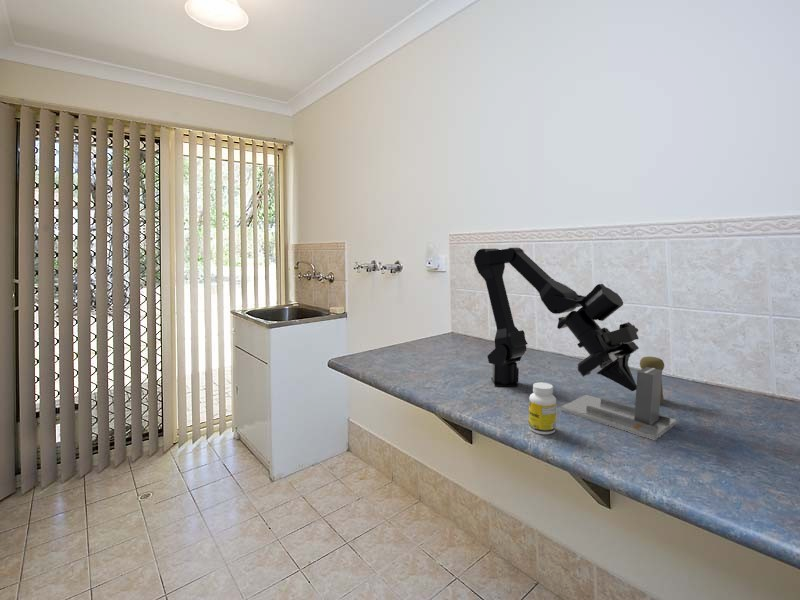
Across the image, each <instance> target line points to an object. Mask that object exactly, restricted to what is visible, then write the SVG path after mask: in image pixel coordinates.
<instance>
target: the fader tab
mask: <svg viewBox="0 0 800 600" xmlns="http://www.w3.org/2000/svg"><path fill="white" fill-rule="evenodd" d="M661 381H662V382H663V370H659V369H655V368H649V367H646V368H644V369H639V370H638V371H637V372H636V385H637V386H636V390H635V405H634V407H635V417H634V419H635V420H639V421H642V422H645V423H649V424H653V423H654V422H656V421H657V420H659V414H660V406H661V404H660V395H661Z"/></svg>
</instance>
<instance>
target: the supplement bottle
mask: <svg viewBox="0 0 800 600" xmlns="http://www.w3.org/2000/svg"><path fill="white" fill-rule="evenodd" d="M528 403H529V404H528V405H529V406H528V427H529V430H530V431H531V432H533V433H536V434H537V435H538V434H539V435H551V434H553V433H555V432H556V425H557V424H556V422H557V421H556V419H557V418H556V417H557V398H556V397H555V395H554V386H553V385H552V384H551V383H547V382H542V381H541V382H534V383H533V385H532V393H530V395H529V400H528Z"/></svg>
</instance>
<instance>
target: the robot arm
mask: <svg viewBox="0 0 800 600" xmlns="http://www.w3.org/2000/svg"><path fill="white" fill-rule="evenodd" d="M473 261H474V264H475V265H474V266H475V267H476V270H477V272H478V274H479V275H480V276H481V277H482V278H483V280H484V281H485V285H486V288H487V293H488V298H489V301H490V302H489V303H490V305H491V311H492V315H493V319H494V323H495V326H496V331H495V337H494V349H493V350H492V351H491V352H490V353H489V354H488V355H487V361H488V363H489V364H491V365H492V376H491V378H490V380H491V382H492V384H493V385H494V386H495V387H519V386H518V385H519V384H518V383H519V375H520V374H519V367H518V364H517V362H520V361H522V357H523V356H524V355H525V353H526V351H527V345H528V341H527V340H526V336H525V335H526V334H525V332H524V330H519V329H518V328H517V326H516V325H515V322H514V318H513V315H512V310H511V306H510V302H509V299H508V297H509V296H508V293H507V290H506V286H505V282H504V277H503V276H504V272H505V268H506V264H510V266H512V267H513V268H514V269H515V270H516V271H517V272H518V273H519V274H520V275H521V276H522V277H523V278H524V279H525V280H526V281H527V282H528V283H529V284H530V285H531V286H532V287H533V288H534V289H535V290H536V291H537V293H538V294H539V297H540V300H541V302H542V303H543V305H544V306H545V307H546V308H547V310H548V311H549V312H550V313H552V314H555V315H556V314H557V315H558V314H564V313H568V314H567V315H565V316H561V317H558V318H557V319H558V323H557V326H556V327H557V329H558V330H560V329H565V328H568V329H569V331H570V333H572V335H573V337H575V338H576V339H577V341H578V342H579V343H577V344H576V345H577V346H578V348H580V349H581V348H584V350H585V351H586V352H587V353H588V354H589V355H588V356H587V357H586V358H584V359H583V360H582V361H580V362H579V363H577V371H578V372H579V374H580V375H581V376H582V377H583V378H584V377H586V376H588V375H590V374H591V372H592V371H593V370H595V369H596V368H598V367H599V368H600V370H598V371H597V372H596V373H597V375H601V376H603V377H605V378H606V379H609V380H611V381H613V382H615V383H616V384H619V385H620V386H622V387H623V388H626V389H628V390H629V391H631V392H636V386H637V382H636V381H635V379H634V376H633V375H632V372H631V370H630V367H629V359H630V357H631V355H632V354H633V353H634V352H636V351H637V350H639V349H640V348H639V346H638V345H637V344H636V343H635V341H636V340H639V336H638V332H639V329H638V328H637V327H636V326H635V324H632V323H630V322H629V321H628V322H625V323H621V324H620V325H619V329H616V330H612V331H610V329H608V328H607V327H602V328H601V327H600V325H599V324H598V323H597V322H596V321H599V322H603V321H605V320H606V319H607V318H609V317H610V316H611V315H612V314H614V313H615V312H616V311H618V310H619V309H620V308H621V307H622V306H623V305H624V300H623V299H622V298H621V296H620V295H619V294H618V293H617V292H615V291H614V290H612V289H611V288H608V287H607V286H605V284H603V283H598V284H596V285H595V286H594V287H593V288H592V290H591V291H590V292H589V293H587V295H581V294H578V293H577V291H575V290H574V289H572V288H570V287H569V286H567V285H565V284H563V283H561V282H559V281H557V280H555V279H554V278H552V277H551V276H550V275H549V274H548V273H546V272H545V270H543V269H542V267H540V266H539V265H538V264H537V263H536V262H535V261H534V260H533V259H531V258H530V256H528V255H527V254H526V253H525V250H523V249H522V248H521V247H507V248H501V249H499V248H480V249H478V250H477V251H476V252H475V255H474V257H473ZM579 307H580V308H579ZM577 308H579V309H578V310H576V309H577ZM634 340H635V341H634Z"/></svg>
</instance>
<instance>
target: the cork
mask: <svg viewBox="0 0 800 600" xmlns="http://www.w3.org/2000/svg"><path fill="white" fill-rule="evenodd" d="M664 362H665V361H663V359H661V358H659V357H656V356H643V357H642V358H641V359H640V361H639V366H640V368H641V369H640V370H642V369H644V368H646V367H649V368H655V369H659V370H662V371H663V370H664V369H665V363H664ZM663 390H664V389H663V380H662V381H661V395H660V405H662V404H664V393H663V392H664V391H663Z"/></svg>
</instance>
